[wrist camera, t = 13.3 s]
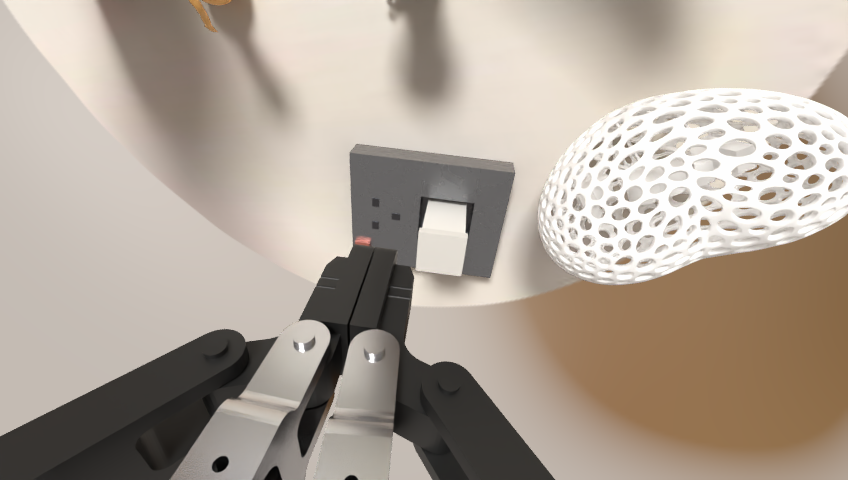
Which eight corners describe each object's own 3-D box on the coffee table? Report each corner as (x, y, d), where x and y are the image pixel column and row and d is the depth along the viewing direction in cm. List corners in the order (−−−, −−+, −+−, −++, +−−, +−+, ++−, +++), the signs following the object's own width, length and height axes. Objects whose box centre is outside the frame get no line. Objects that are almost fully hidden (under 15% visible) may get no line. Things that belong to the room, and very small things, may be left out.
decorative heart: (723, 29, 29) (967, 61, 14) (734, 148, 33) (926, 260, 19) (504, 129, 35) (525, 220, 21) (540, 218, 40) (577, 341, 25)
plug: (424, 226, 41) (415, 270, 35) (428, 192, 39) (418, 232, 32) (463, 231, 41) (461, 276, 35) (468, 197, 39) (467, 238, 32)
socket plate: (359, 247, 45) (352, 261, 42) (356, 144, 37) (348, 154, 35) (489, 264, 44) (490, 280, 41) (512, 162, 36) (515, 175, 34)
